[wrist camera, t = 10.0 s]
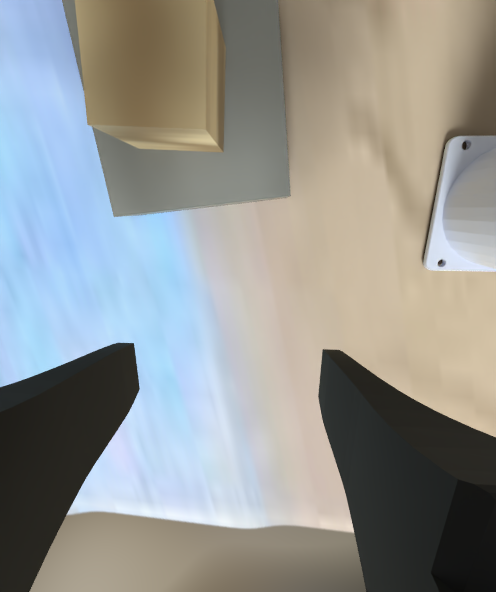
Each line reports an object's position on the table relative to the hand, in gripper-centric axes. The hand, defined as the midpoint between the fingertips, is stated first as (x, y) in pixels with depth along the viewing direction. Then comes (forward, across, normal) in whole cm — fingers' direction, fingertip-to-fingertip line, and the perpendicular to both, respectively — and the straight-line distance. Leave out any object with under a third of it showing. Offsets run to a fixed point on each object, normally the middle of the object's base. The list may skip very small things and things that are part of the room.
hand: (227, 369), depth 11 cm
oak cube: (+7, +3, -11) cm, 13 cm away
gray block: (+11, +3, -11) cm, 16 cm away
